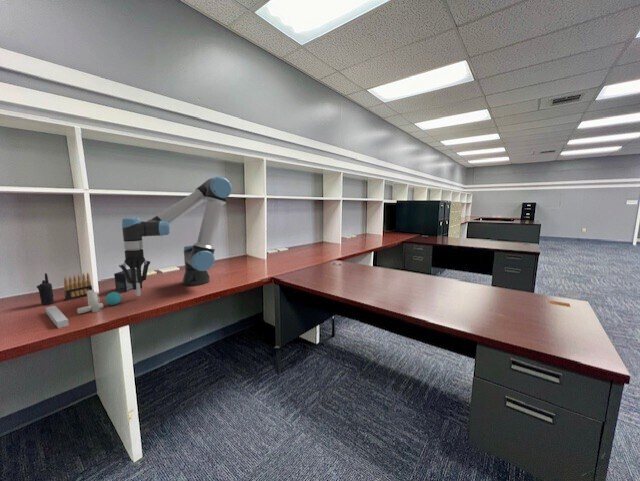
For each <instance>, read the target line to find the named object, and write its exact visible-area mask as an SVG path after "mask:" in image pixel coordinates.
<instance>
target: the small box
mask: <svg viewBox="0 0 640 481" xmlns="http://www.w3.org/2000/svg"><path fill="white" fill-rule="evenodd" d="M126 269H127V268H126ZM127 271H128V273H129V276H130V278H131V271H130V268H128V269H127ZM135 274H136V282H138V281H137V270H136V268H135ZM113 276H114V284H115V292H116V291H123V292H122V293H127V291H128V292H129V290H130V291H132V290H133V288H132V283H128V282H127V280H126V278H125V275H124V273H123V270H122V271H118V272H116V273H113Z"/></svg>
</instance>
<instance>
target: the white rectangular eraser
mask: <svg viewBox="0 0 640 481" xmlns="http://www.w3.org/2000/svg"><path fill="white" fill-rule="evenodd" d="M45 314H46V315H47V316H48V317H49V319H50V320H51V321H52V322H53V324H54V325H55V326H56V328H57V329H61V328H64V327H68V326H69V318H67V317H66V316H65V314H64V313H63V312H62V311H61V310H60V309H59V308H58V307H57V305H52V306H47V307H45Z"/></svg>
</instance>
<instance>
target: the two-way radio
mask: <svg viewBox="0 0 640 481" xmlns="http://www.w3.org/2000/svg"><path fill="white" fill-rule="evenodd" d="M49 282H50V281H49V277H48V273H47V272H45V273H44V279H43V280H42V281H41V283H40V284H38V285H36V288H37V290H38V292H39V293H38V294H39V298H40V303H41V305H51V304H54V303H55V300H54V291H53V290H54V289H53V285H52V283H49Z"/></svg>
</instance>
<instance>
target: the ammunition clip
mask: <svg viewBox="0 0 640 481" xmlns="http://www.w3.org/2000/svg"><path fill="white" fill-rule="evenodd" d="M68 277H69V278H67V276H65V277H64V279H63V281H64V285H63V286H64V301H66V302H67V301H71V299H72V300H76V299H80V297H81V298H85V297H87V291H88V290H93V286H92V280H91V277H90V274H89V272H87V273H86V275H85V273H82V274H81V275H80V274H78V275H77V276H76V275H75V274H73V278H72V276H71V275H69V276H68Z"/></svg>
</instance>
